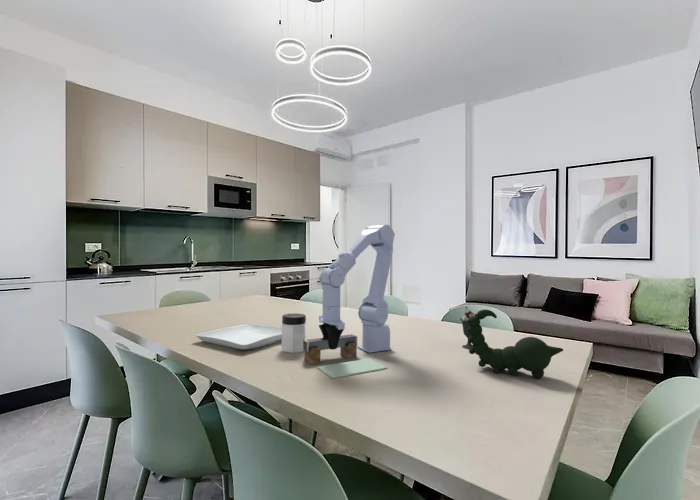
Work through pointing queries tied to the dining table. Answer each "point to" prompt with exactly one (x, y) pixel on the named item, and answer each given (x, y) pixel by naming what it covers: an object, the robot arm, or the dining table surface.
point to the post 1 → (313, 355)
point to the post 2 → (349, 350)
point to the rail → (324, 342)
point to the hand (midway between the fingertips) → (330, 347)
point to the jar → (293, 332)
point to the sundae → (466, 326)
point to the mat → (351, 368)
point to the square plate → (243, 336)
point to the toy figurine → (510, 350)
